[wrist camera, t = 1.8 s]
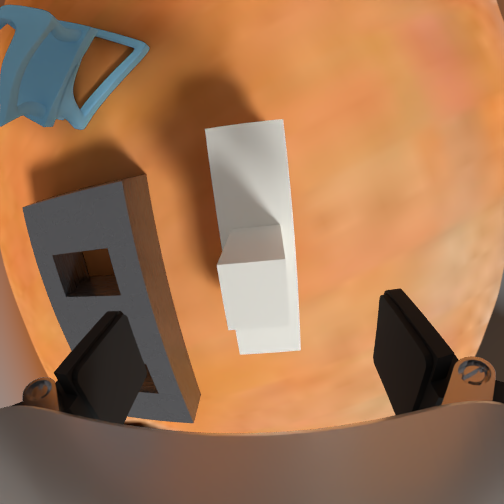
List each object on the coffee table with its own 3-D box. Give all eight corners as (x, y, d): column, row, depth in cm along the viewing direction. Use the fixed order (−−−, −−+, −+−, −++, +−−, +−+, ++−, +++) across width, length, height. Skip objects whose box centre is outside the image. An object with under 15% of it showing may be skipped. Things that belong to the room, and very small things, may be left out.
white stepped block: (221, 133, 19) (176, 121, 9) (278, 126, 19) (290, 105, 9) (245, 311, 24) (232, 410, 14) (294, 307, 24) (307, 407, 14)
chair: (44, 111, 19) (-63, 116, 8) (84, 26, 16) (-12, -12, 5) (103, 141, 20) (-15, 156, 9) (152, 46, 17) (56, -15, 6)
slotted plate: (51, 197, 21) (22, 207, 18) (146, 174, 20) (121, 181, 17) (119, 388, 29) (106, 412, 25) (200, 394, 28) (193, 423, 24)
